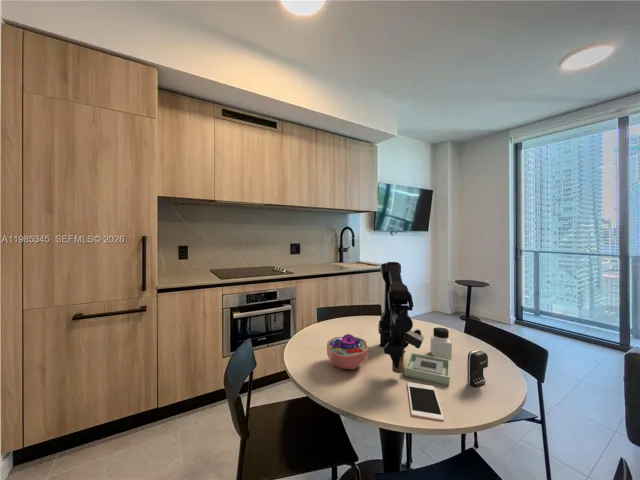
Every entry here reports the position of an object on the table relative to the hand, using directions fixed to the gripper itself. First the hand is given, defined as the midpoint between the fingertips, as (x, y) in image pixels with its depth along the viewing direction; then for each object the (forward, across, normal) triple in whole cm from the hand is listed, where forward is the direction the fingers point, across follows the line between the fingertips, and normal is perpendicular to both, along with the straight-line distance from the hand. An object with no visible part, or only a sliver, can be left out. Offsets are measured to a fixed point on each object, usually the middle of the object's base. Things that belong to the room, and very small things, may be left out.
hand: (397, 365), depth 101 cm
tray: (+5, +11, -9) cm, 15 cm away
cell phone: (+5, -10, -10) cm, 15 cm away
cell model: (+5, +1, +20) cm, 21 cm away
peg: (+2, 0, 0) cm, 2 cm away
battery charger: (+5, +9, -26) cm, 28 cm away
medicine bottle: (+5, +28, -13) cm, 31 cm away
